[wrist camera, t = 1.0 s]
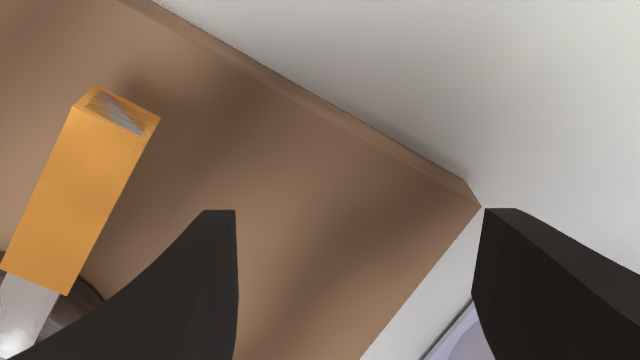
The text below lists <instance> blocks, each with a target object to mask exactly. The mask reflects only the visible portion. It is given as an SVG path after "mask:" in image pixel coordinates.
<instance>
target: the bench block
mask: <svg viewBox="0 0 640 360" xmlns="http://www.w3.org/2000/svg"><path fill="white" fill-rule="evenodd" d="M95 84H97V85H99V86H101V87H103V88H105V89H107V90H109V91H111V92H112V93H114V94H116V95H118V96H120V97H122V98H124V99H126V100H128V101H130V102H132V103H134V104H136V105H138V106H140V107H141V108H143V109H145V110H147V111H149V112H151V113H153V114H155V115H157V116H159V117H161V119H160V121H159V123H158V125H157V127H156V129H155V131H154V133H153V135H152V136H151V138H150V140H149V142H148V144H147V146H146V148H145V150H144V152H143V154H142V156H141V157H140V159H139V161H138V163H137V165H136V167H135V169H134V171H133V173H132V175H131V177H130V178H129V180H128V182H127V184H126V186H125V188H124V190H123V192H122V194H121V196H120V198H119V199H118V201H117V203H116V205H115V207H114V209H113V211H112V213H111V215H110V217H109V219H108V220H107V222H106V224H105V226H104V228H103V230H102V232H101V234H100V236H99V238H98V240H97V241H96V243H95V245H94V247H93V249H92V251H91V253H90V255H89V257H88V259H87V260H86V262H85V264H84V266H83V268H82V270H81V271H80V273H79V275H78V277H77V278H79V279H80V280H81V281H83V282H84V283H85V284H86V285H88V286H89V287H90V288H91V289H92V290H93V291H94V292H95V293H96V294H97V295H98V296H99V297H100V299H101V300H102V301H103V302H105V301H106V300H108V299H109V298H110V297H112V296H113V295H114V294H116V293H117V292H118V291H120V290H121V289H122V288H123V287H125V286H126V285H127V284H129V283H130V282H131V281H132V280H133V279H134V278H135V277H137V276H138V275H139V274H140V273H141V272H142V271H143V270H145V269H146V268H147V267H148V266H149V265H150V264H151V263H152V262H153V261H154V260H155V259H156V258H157V257H158V256H159V255H160V254H161V253H162V252H163V251H164V250H165V249H166V248H167V247H168V246H170V245H171V244H172V243H173V241H174V240H175V239H176V238H177V237H178V236H179V235H180V234H181V233H182V232H183V231H184V230H185V229H186V228H187V227H188V225H189V224H190V223H191V222H192V221H193V220H194V219H195V218H196V217H197V216H198V215H199V214H200V213H201V212H202V211H203V210H235V213H236V237H237V261H238V286H239V303H238V318H237V332H236V342H235V347H234V353H233V358H232V360H359V359H360V358H361V356H362V355H363V354H364V353H365V351H366V350H367V349H368V348H369V346H370V345H371V344H372V343H373V341H374V340H375V339H376V338H377V336H378V335H379V334H380V333H381V331H382V330H383V329H384V328H385V326H386V325H387V324H388V323H389V321H390V320H391V319H392V318H393V316H394V315H395V314H396V313H397V311H398V310H399V309H400V308H401V306H402V305H403V304H404V303H405V301H406V300H407V299H408V298H409V296H410V295H411V294H412V293H413V291H414V290H415V289H416V288H417V286H418V285H419V284H420V283H421V281H422V280H423V279H424V278H425V276H426V275H427V274H428V273H429V272H430V270H431V269H432V268H433V267H434V265H435V264H436V263H437V262H438V260H439V259H440V258H441V257H442V255H443V254H444V253H445V252H446V250H447V249H448V248H449V247H450V245H451V244H452V243H453V242H454V240H455V239H456V238H457V237H458V235H459V234H460V233H461V232H462V230H463V229H464V228H465V227H466V225H467V224H468V223H469V222H470V220H471V219H472V218H473V217H474V215H475V214H476V213H477V212H478V210H479V209H480V208H481V207H482V206H481V205H480V203H479V201H478V200H477V198H476V197H475V195H474V194H473V192H472V191H471V189H470V188H469V186H468V185H467V183H466V182H465V181H464V180H462V179H461V178H459V177H457V176H455V175H454V174H452V173H450V172H448V171H447V170H445V169H443V168H441V167H440V166H438V165H436V164H434V163H433V162H431V161H429V160H427V159H426V158H424V157H422V156H421V155H419V154H417V153H415V152H414V151H412V150H410V149H408V148H407V147H405V146H403V145H401V144H400V143H398V142H396V141H394V140H393V139H391V138H389V137H387V136H386V135H384V134H382V133H380V132H379V131H377V130H375V129H373V128H372V127H370V126H368V125H366V124H365V123H363V122H361V121H359V120H358V119H356V118H354V117H353V116H351V115H349V114H347V113H346V112H344V111H342V110H340V109H339V108H337V107H335V106H333V105H332V104H330V103H328V102H326V101H325V100H323V99H321V98H319V97H318V96H316V95H314V94H312V93H311V92H309V91H307V90H305V89H304V88H302V87H300V86H298V85H297V84H295V83H293V82H291V81H290V80H288V79H286V78H285V77H283V76H281V75H279V74H278V73H276V72H274V71H272V70H271V69H269V68H267V67H265V66H264V65H262V64H260V63H258V62H257V61H255V60H253V59H251V58H250V57H248V56H246V55H244V54H243V53H241V52H239V51H237V50H236V49H234V48H232V47H230V46H229V45H227V44H225V43H223V42H222V41H220V40H218V39H216V38H215V37H213V36H211V35H210V34H208V33H206V32H204V31H203V30H201V29H199V28H197V27H196V26H194V25H192V24H190V23H189V22H187V21H185V20H183V19H182V18H180V17H178V16H176V15H175V14H173V13H171V12H169V11H168V10H166V9H164V8H162V7H161V6H159V5H157V4H155V3H154V2H152V1H150V0H0V254H5V253H6V251H7V248H8V246H9V244H10V242H11V240H12V237H13V235H14V233H15V231H16V229H17V226H18V224H19V222H20V220H21V218H22V216H23V213H24V211H25V209H26V207H27V205H28V202H29V200H30V198H31V196H32V194H33V191H34V189H35V187H36V185H37V183H38V180H39V178H40V176H41V174H42V172H43V170H44V167H45V165H46V163H47V161H48V159H49V156H50V154H51V152H52V150H53V148H54V145H55V143H56V141H57V139H58V137H59V135H60V132H61V130H62V128H63V126H64V124H65V121H66V119H67V117H68V115H69V113H70V110H71V108H72V106H73V105H74V104H75V103H76V102H77V101H78V100H79V99H80V98H81V97H82V96H83V95H84V94H85V93H87V92H88V91H89V90H90V89H91V88H92V87H93V86H94V85H95Z"/></svg>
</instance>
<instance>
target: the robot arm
mask: <svg viewBox="0 0 640 360" xmlns="http://www.w3.org/2000/svg"><path fill="white" fill-rule="evenodd" d="M471 294H472V298H473V302H472V303H471V304H470V305H469V307H468V308H467V309H466V310H465V311H464V312H463V314H462V315H461V316H460V317H459V318H458V319H457V321H456V322H455V323H454V324H453V325H452V326H451V328H450V329H449V330H448V331H447V332H446V333H445V335H444V336H443V337H442V338H441V339H440V340H439V342H438V343H437V344H436V345H435V346H434V347H433V349H432V350H431V351H430V352H429V353H428V354H427V356H426V357H425V358H424V359H423V360H640V275H639V274H637V273H635V272H633V271H631V270H629V269H627V268H625V267H623V266H621V265H619V264H617V263H616V262H614V261H612V260H610V259H608V258H606V257H604V256H602V255H601V254H599V253H597V252H595V251H593V250H592V249H590V248H588V247H586V246H585V245H583V244H581V243H579V242H577V241H576V240H574V239H572V238H571V237H569V236H567V235H565V234H564V233H562V232H560V231H558V230H557V229H555V228H553V227H551V226H550V225H548V224H546V223H544V222H542V221H541V220H539V219H537V218H535V217H533V216H531V215H529V214H527V213H525V212H523V211H521V210H518V209H516V208H485V213H484V218H483V224H482V230H481V236H480V242H479V248H478V254H477V260H476V266H475V272H474V278H473V284H472V290H471ZM238 303H239V286H238V261H237V237H236V213H235V210H203V211H202V212H201V213H200V214H199V215H198V216H197V217H196V218H195V219H194V220H193V221H192V222H191V223H190V224H189V225H188V227H187V228H186V229H185V230H184V231H183V232H182V233H181V234H180V235H179V236H178V237H177V238H176V239H175V240H174V241H173V243H172V244H171V245H170V246H168V247H167V248H166V249H165V250H164V251H163V252H162V253H161V254H160V255H159V256H158V257H157V258H156V259H155V260H154V261H153V262H152V263H151V264H150V265H149V266H148V267H147V268H146V269H145V270H143V271H142V272H141V273H140V274H139V275H138V276H137V277H135V278H134V279H133V280H132V281H131V282H130V283H129V284H127V285H126V286H125V287H123V288H122V289H121V290H120V291H118V292H117V293H116V294H114V295H113V296H112V297H110V298H109V299H108V300H106V301H105V302H103V303H102V304H100V305H99V306H98V307H96V308H95V309H93V310H92V311H90V312H89V313H87V314H86V315H84V316H83V317H81V318H80V319H78V320H76V321H75V322H73V323H71V324H70V325H68V326H66V327H64V328H63V329H61V330H59V331H58V332H56V333H54V334H52V335H51V336H49V337H47V338H46V339H44V340H42V341H40V342H39V343H37V344H35V345H33V346H32V347H30V348H28V349H26V350H24V351H22V352H20V353H18V354H16V355H14V356H12V357H10V358H8V359H6V360H232V358H233V353H234V347H235V342H236V332H237V318H238Z"/></svg>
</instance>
